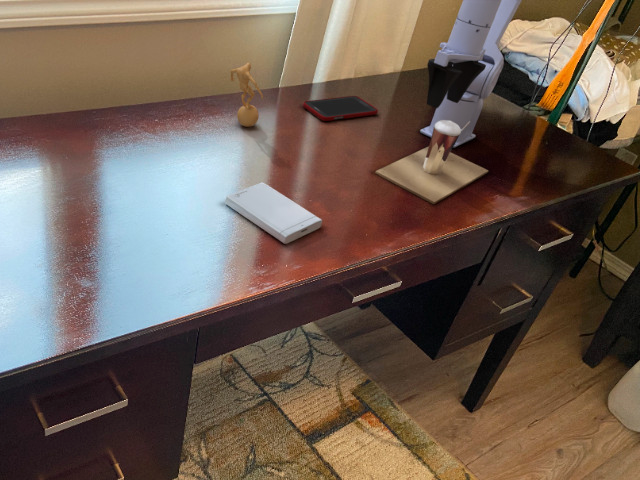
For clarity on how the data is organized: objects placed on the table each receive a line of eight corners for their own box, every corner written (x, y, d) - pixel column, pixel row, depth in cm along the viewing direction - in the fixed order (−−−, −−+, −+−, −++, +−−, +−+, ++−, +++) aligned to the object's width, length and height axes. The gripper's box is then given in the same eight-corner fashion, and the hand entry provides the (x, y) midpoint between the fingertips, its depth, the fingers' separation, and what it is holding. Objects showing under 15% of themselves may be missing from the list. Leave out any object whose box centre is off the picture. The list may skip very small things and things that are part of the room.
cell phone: (378, 114, 127) (380, 110, 126) (323, 122, 120) (324, 117, 119) (355, 99, 131) (356, 95, 131) (300, 106, 125) (301, 101, 124)
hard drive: (225, 195, 91) (286, 235, 85) (263, 181, 96) (323, 218, 90) (224, 205, 92) (284, 245, 86) (262, 190, 97) (321, 227, 91)
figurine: (269, 132, 113) (280, 68, 106) (245, 139, 110) (255, 73, 102) (239, 114, 117) (248, 51, 110) (215, 120, 114) (223, 56, 106)
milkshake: (449, 179, 108) (471, 126, 101) (419, 173, 108) (439, 120, 102) (448, 168, 111) (468, 116, 105) (418, 161, 111) (437, 109, 105)
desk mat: (432, 146, 119) (433, 144, 118) (487, 173, 113) (488, 170, 113) (374, 173, 107) (375, 170, 106) (433, 204, 101) (434, 202, 101)
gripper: (471, 14, 107) (441, 91, 114) (431, 16, 97) (402, 99, 105) (508, 26, 103) (475, 104, 111) (471, 29, 94) (438, 115, 102)
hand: (442, 103), depth 108 cm, fingers open, 7 cm apart
